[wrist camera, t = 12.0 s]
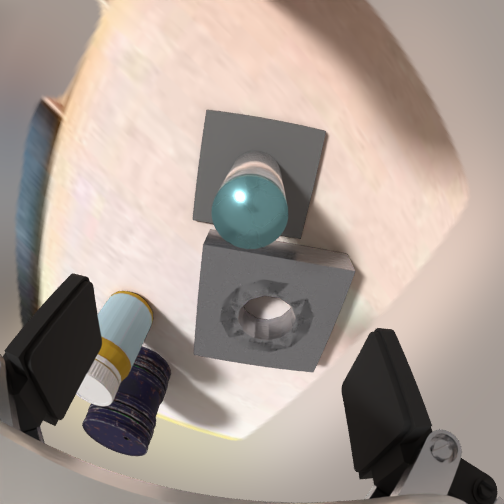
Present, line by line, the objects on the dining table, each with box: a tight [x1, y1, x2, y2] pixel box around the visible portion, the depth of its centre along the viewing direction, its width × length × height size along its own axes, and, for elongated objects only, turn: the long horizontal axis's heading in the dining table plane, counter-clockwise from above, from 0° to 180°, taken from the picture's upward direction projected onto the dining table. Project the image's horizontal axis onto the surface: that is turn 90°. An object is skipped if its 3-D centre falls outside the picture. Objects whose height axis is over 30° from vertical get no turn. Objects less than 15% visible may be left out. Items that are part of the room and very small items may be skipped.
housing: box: [194, 229, 355, 372], centre depth 36 cm, size 16×16×4 cm
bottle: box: [76, 291, 153, 406], centre depth 34 cm, size 7×7×15 cm
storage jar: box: [82, 346, 171, 456], centre depth 39 cm, size 10×10×15 cm
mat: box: [193, 110, 326, 239], centre depth 31 cm, size 12×12×1 cm
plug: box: [211, 151, 288, 249], centre depth 25 cm, size 5×5×12 cm
